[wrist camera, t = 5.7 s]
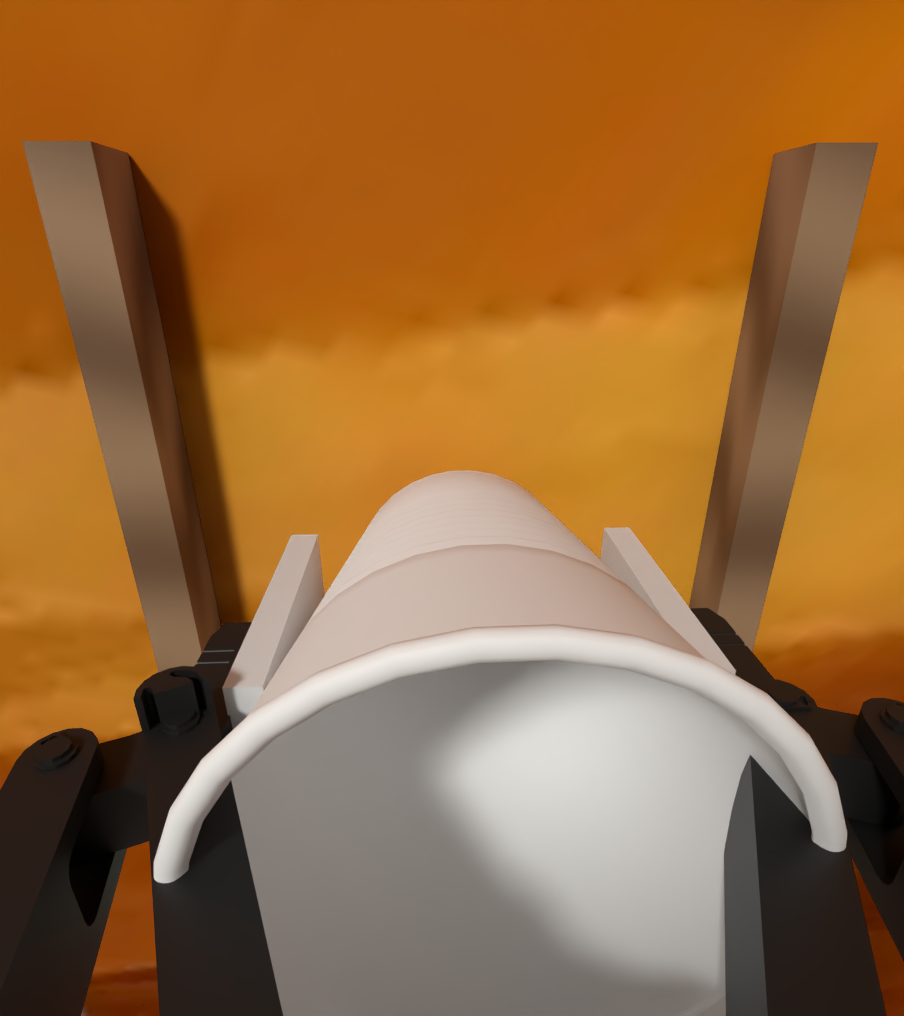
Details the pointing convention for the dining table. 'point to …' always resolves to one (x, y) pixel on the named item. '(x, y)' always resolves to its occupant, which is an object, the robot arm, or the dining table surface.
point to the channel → (159, 436)
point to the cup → (494, 779)
